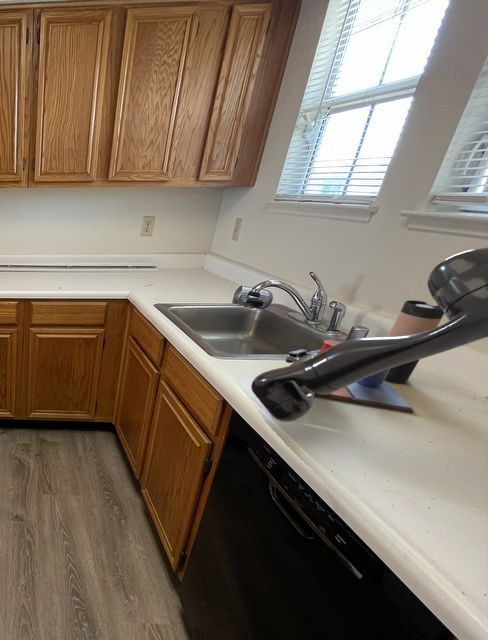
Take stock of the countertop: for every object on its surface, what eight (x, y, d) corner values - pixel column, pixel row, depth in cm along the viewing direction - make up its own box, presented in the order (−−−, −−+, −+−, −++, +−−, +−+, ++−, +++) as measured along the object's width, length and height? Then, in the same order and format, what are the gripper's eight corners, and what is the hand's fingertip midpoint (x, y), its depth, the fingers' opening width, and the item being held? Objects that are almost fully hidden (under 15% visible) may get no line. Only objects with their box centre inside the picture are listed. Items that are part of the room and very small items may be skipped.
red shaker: (327, 382, 104) (345, 341, 99) (333, 390, 100) (352, 348, 95) (304, 378, 106) (321, 338, 101) (309, 386, 102) (327, 345, 97)
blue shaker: (376, 381, 105) (396, 341, 101) (384, 390, 101) (405, 348, 97) (353, 378, 107) (372, 338, 102) (360, 386, 103) (380, 345, 98)
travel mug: (378, 381, 108) (415, 307, 99) (364, 369, 115) (398, 298, 106) (414, 386, 106) (455, 311, 97) (398, 373, 113) (435, 302, 104)
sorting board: (385, 386, 106) (387, 382, 105) (412, 413, 94) (414, 409, 93) (285, 370, 113) (287, 367, 112) (298, 393, 101) (300, 389, 101)
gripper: (356, 370, 85) (377, 352, 95) (278, 348, 95) (305, 333, 105) (341, 402, 89) (362, 381, 98) (268, 377, 98) (294, 360, 108)
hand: (332, 356), depth 101 cm, fingers closed on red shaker, 4 cm apart
